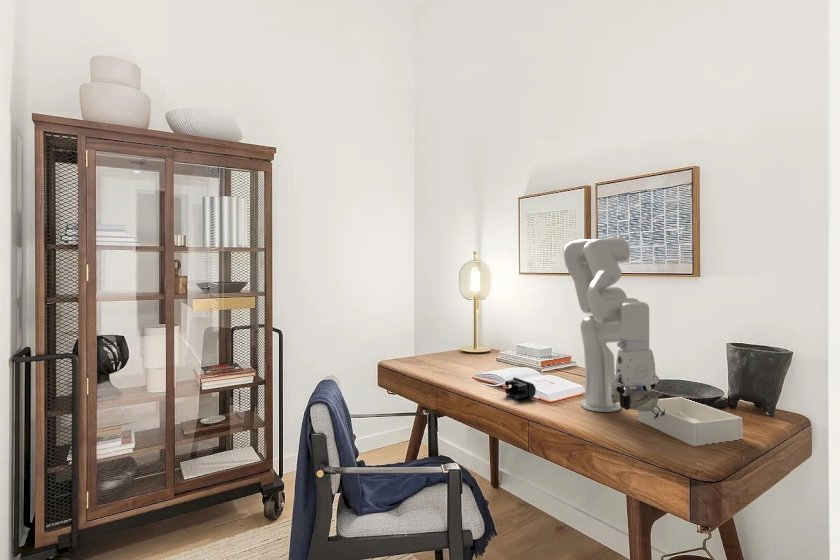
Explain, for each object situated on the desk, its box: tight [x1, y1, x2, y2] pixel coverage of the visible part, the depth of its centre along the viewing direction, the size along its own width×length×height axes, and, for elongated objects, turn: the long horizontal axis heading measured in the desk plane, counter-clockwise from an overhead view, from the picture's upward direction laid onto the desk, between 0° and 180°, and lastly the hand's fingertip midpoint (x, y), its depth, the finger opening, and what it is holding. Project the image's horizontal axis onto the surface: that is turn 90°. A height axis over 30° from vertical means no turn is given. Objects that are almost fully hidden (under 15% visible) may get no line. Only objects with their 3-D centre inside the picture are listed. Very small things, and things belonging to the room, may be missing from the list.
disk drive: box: [687, 393, 729, 409], centre depth 155 cm, size 10×3×15 cm
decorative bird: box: [611, 386, 666, 420], centre depth 129 cm, size 5×16×8 cm, turn 28°
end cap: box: [504, 377, 537, 403], centre depth 170 cm, size 10×7×7 cm
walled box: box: [637, 396, 744, 447], centre depth 132 cm, size 22×16×6 cm
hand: (635, 406), depth 130 cm, fingers closed on decorative bird, 5 cm apart
